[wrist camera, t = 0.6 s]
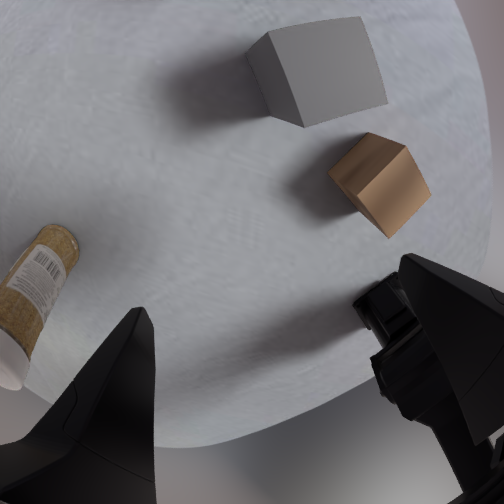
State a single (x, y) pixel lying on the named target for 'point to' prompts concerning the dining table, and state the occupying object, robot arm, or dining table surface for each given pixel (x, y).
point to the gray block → (317, 71)
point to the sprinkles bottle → (31, 299)
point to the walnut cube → (381, 182)
